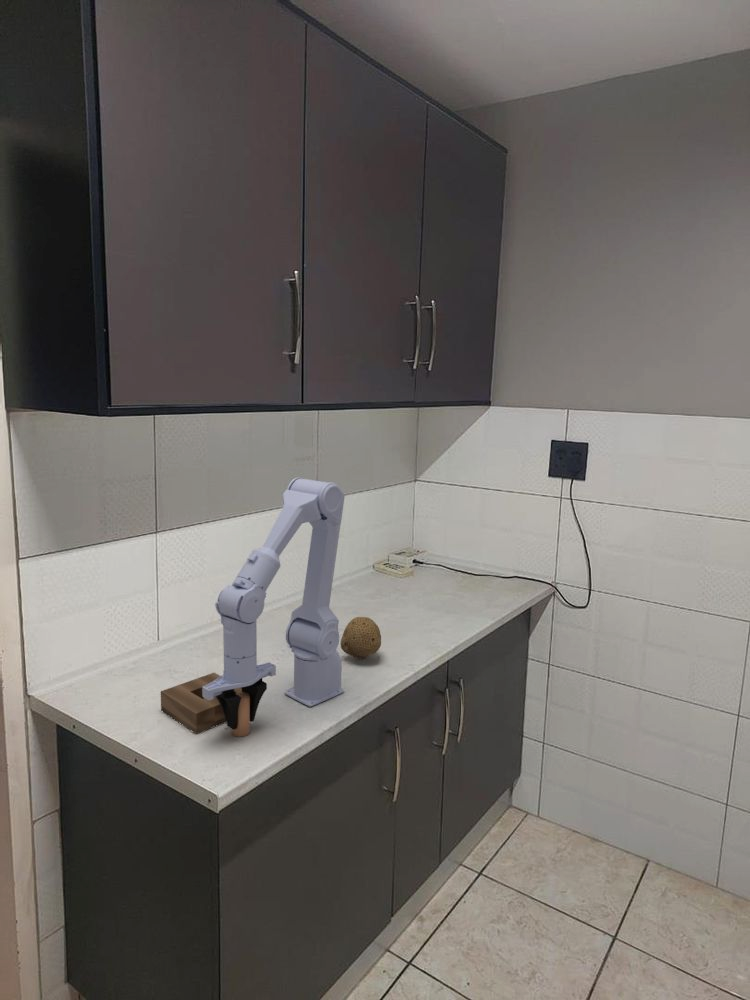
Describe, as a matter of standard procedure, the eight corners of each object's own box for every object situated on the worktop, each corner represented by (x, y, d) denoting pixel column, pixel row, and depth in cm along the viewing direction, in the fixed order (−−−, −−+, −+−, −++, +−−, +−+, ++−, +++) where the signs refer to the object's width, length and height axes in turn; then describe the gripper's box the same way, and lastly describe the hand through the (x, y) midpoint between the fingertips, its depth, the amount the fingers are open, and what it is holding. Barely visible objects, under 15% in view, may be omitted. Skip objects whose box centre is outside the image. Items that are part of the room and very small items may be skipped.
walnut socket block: (214, 690, 139) (214, 672, 138) (250, 711, 131) (250, 692, 130) (161, 710, 130) (160, 691, 130) (196, 734, 123) (196, 713, 122)
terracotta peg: (242, 725, 126) (242, 690, 124) (253, 732, 124) (253, 696, 122) (228, 732, 123) (227, 696, 122) (238, 738, 121) (238, 702, 120)
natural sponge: (389, 661, 156) (391, 619, 154) (359, 671, 150) (361, 628, 148) (364, 648, 163) (365, 608, 161) (334, 657, 157) (335, 616, 155)
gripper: (259, 635, 129) (259, 702, 131) (191, 657, 118) (193, 729, 121) (283, 646, 124) (282, 715, 126) (215, 669, 113) (216, 744, 116)
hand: (240, 723), depth 123 cm, fingers closed on terracotta peg, 3 cm apart
